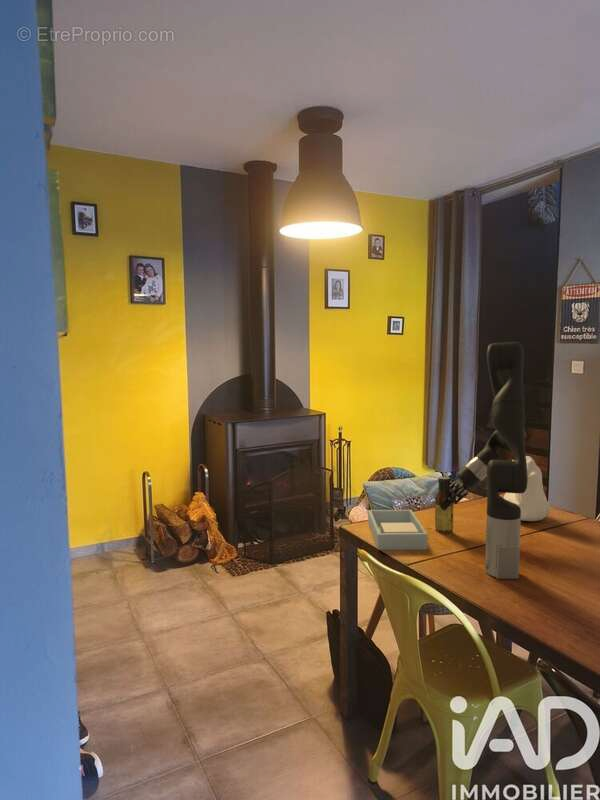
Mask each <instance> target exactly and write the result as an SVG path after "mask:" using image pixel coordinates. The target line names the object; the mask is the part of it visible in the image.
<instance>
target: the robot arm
mask: <svg viewBox="0 0 600 800" xmlns="http://www.w3.org/2000/svg"><path fill="white" fill-rule="evenodd" d="M486 361H487V362H486V363H487V370H488V373H489V380H490V385H491V391H492V395H493V401H492V404H491V405H492V406H491V411H492V412H491V422H492V425H493V427H494V429H495V431H494V432H493V433H492V434H491V435H490V437H489V439H488V441H487V442H486V444H485V445H484V447H483V449H482V450H481V451H479V453H478V454H476V456H474V457H473V458H471V460H469V461H468V462H467V463H466V464H465V465H464V466H463V467H462V468H461V469H460V470H459V471H458V472H457V473H456V476H457V477H458V478H457V479H454V478H451V479H450V496H449V497H448V499H446V500H445V501H444V502H443V503H442V504H441V505H440V507H441V508H442V509H443V510H446V509H447V508H448V507H449V506H450V505H451V504H453V505H454V504H455V505H457V504H458V503H459V502H460V501H462V500H463V499H464V498H466V496H467V495H469V492H468V491H467V489H468V488H469V489H470V490H474V488H476V487H477V486H478V485H479V484H480V483H481V482H482V481H483V480H484V479H485V478H486V489H487V491H486V492H487V493H486V496H487V497H486V498H487V499H486V523H485V524H486V525H485V526H486V528H485V529H486V530H485V559H484V560H485V564H484V568H485V569H484V570H485V572H486V574H487V575H489V576H492V577H494V578H496V579H497V580H506V579H508V580H509V579H510V580H515V579H517V580H518V579H519V575H520V572H519V571H520V551H521V550H520V549H521V548H520V547H521V545H520V544H521V521H522V520H521V509H520V507H519V506H518V505H517V504H515V503H512V502H510V501H507V500H505V499H504V497H503V496H501V495H500V494H499V493H504V494H505V493H524V492H525V491H526V489H527V483H528V476H527V464H526V456H527V455H526V443H525V421H526V418H525V401H524V399H525V398H524V366H525V365H524V363H525V362H524V361H525V354H524V346H523V344H522V343H521V342H518V341H507V342H505V341H504V342H493V343H490V344H488V347H487V351H486ZM507 371H509V372H510V371H511V373H510V375H509V378H508V380H507V381H506V383H505V384H504V381H503V380H502V379H501V376H500V372H507ZM501 449H502V450H504V451H506V452H507V453H510V454H511V455H512V457H513V460H514V461H512V460H509V459H507V460H506V459H502V457H501V456H500V454H499V453H500V450H501Z"/></svg>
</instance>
